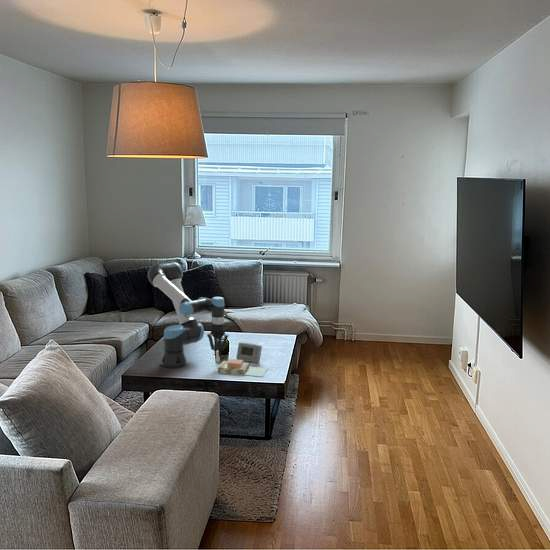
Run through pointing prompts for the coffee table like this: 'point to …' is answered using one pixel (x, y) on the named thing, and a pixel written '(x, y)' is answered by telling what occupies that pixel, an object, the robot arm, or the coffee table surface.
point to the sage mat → (256, 371)
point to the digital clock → (249, 352)
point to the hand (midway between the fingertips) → (217, 361)
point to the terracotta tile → (235, 363)
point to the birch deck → (233, 368)
